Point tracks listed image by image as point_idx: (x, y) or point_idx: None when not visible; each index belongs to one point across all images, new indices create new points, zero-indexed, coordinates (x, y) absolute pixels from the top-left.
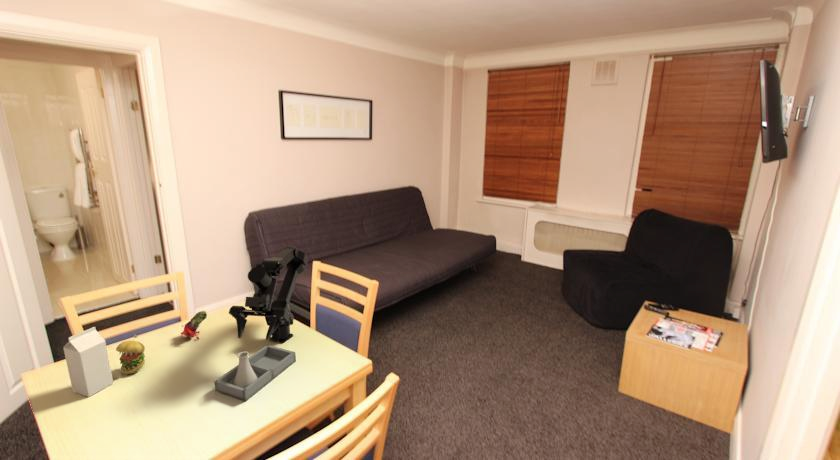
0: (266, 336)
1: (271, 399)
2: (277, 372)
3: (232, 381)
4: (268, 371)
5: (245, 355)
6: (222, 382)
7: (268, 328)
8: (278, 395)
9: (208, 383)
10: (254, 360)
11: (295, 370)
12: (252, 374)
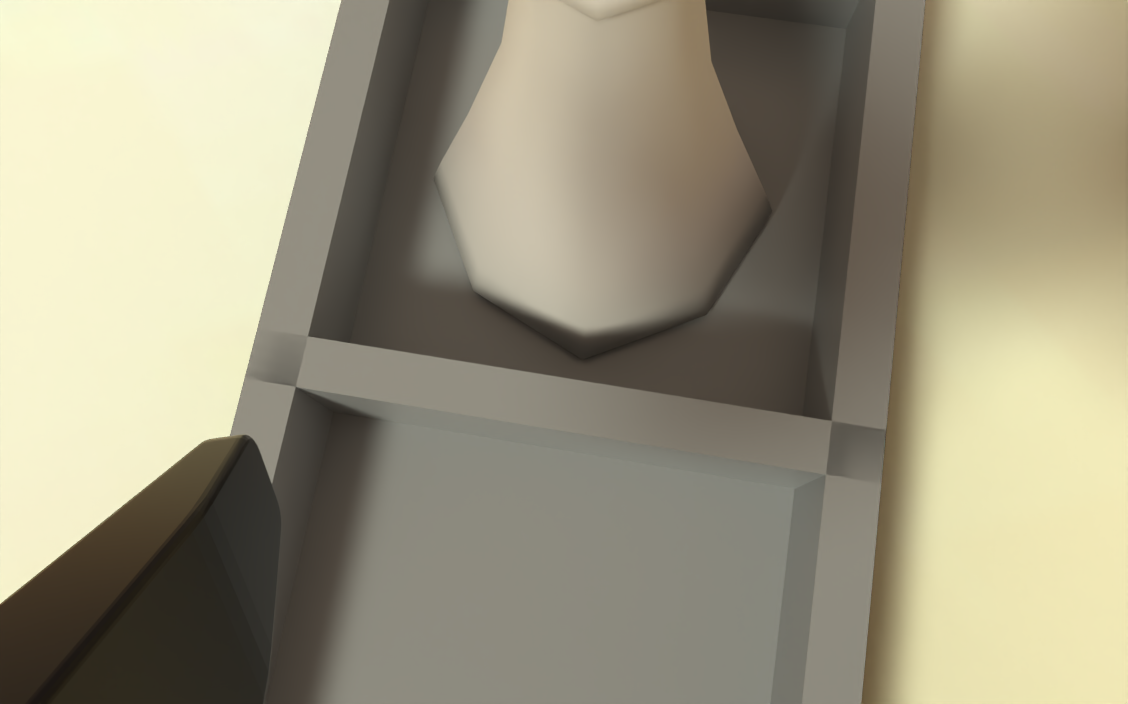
0: (211, 474)
1: (137, 54)
2: None
3: (789, 173)
4: (292, 308)
5: (621, 22)
6: None
7: (37, 688)
8: (86, 132)
9: (1087, 118)
10: (786, 657)
11: None
12: (470, 137)
